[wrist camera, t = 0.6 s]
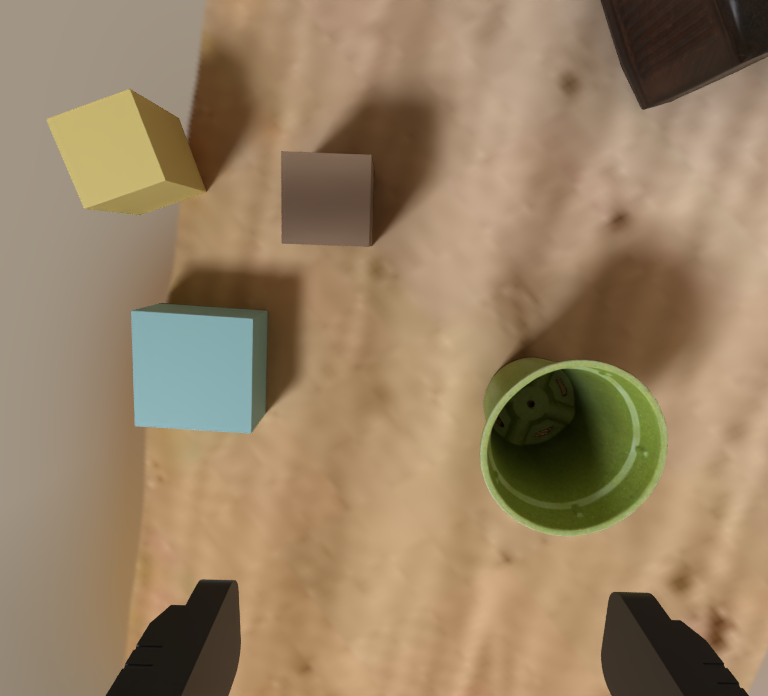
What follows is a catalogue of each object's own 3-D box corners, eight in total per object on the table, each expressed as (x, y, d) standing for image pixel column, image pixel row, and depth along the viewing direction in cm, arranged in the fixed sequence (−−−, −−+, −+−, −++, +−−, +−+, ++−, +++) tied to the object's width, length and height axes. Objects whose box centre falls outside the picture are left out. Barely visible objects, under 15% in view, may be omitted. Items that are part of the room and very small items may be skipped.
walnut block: (301, 168, 31) (281, 151, 25) (374, 171, 31) (371, 154, 25) (301, 243, 32) (281, 243, 26) (372, 245, 32) (368, 246, 26)
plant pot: (432, 374, 34) (447, 419, 25) (561, 305, 33) (622, 326, 24) (497, 488, 35) (531, 565, 27) (621, 425, 34) (698, 484, 26)
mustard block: (110, 142, 31) (46, 119, 25) (178, 118, 31) (129, 88, 25) (140, 215, 32) (84, 208, 26) (206, 192, 32) (165, 180, 26)
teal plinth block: (161, 302, 33) (131, 310, 29) (268, 310, 33) (252, 318, 29) (163, 405, 35) (134, 426, 31) (266, 412, 35) (251, 433, 31)
